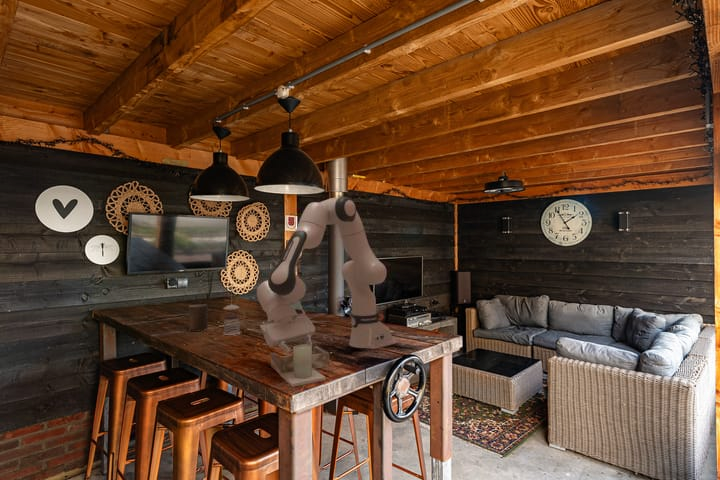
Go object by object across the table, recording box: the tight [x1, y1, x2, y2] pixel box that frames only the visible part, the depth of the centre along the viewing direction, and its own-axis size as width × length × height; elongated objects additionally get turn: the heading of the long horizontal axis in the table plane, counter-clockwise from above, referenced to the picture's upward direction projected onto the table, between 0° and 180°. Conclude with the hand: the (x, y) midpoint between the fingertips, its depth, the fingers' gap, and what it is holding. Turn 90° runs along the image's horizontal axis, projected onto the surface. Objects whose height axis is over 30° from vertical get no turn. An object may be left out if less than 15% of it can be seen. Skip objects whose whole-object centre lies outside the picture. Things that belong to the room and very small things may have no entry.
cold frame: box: [270, 345, 330, 376], centre depth 148 cm, size 19×12×5 cm, turn 120°
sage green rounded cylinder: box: [292, 343, 313, 378], centre depth 135 cm, size 6×6×10 cm
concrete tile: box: [280, 368, 326, 388], centre depth 135 cm, size 12×12×1 cm
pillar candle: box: [188, 303, 208, 331], centre depth 214 cm, size 10×10×15 cm
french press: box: [222, 286, 246, 336], centre depth 205 cm, size 10×12×25 cm
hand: (300, 349), depth 136 cm, fingers open, 8 cm apart
